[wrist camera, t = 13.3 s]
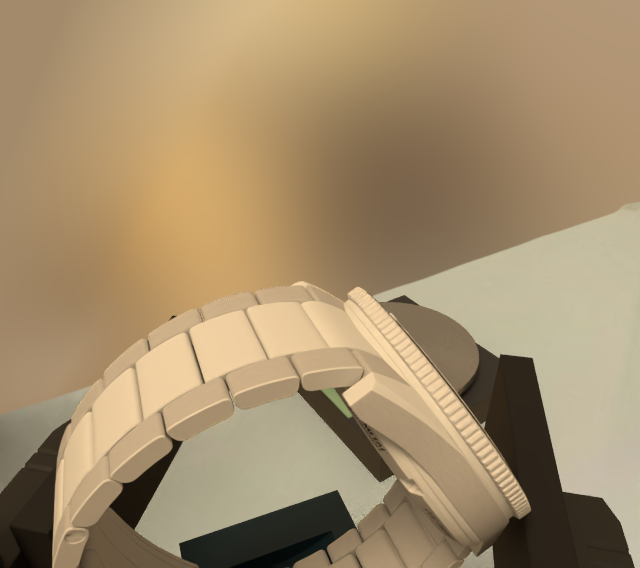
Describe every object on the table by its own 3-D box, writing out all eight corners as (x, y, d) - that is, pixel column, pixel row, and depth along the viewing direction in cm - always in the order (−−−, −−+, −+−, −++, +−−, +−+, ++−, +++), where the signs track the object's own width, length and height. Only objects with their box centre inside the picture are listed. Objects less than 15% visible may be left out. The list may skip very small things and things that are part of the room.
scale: (379, 482, 33) (381, 454, 31) (276, 368, 42) (274, 342, 41) (519, 401, 39) (526, 374, 37) (402, 317, 48) (404, 293, 47)
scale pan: (383, 436, 32) (384, 426, 32) (286, 339, 40) (286, 331, 40) (512, 368, 37) (515, 359, 37) (404, 295, 46) (404, 287, 45)
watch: (505, 736, 12) (649, 369, 7) (152, 931, 10) (-67, 603, 4) (391, 533, 17) (424, 213, 11) (128, 633, 14) (5, 284, 9)
